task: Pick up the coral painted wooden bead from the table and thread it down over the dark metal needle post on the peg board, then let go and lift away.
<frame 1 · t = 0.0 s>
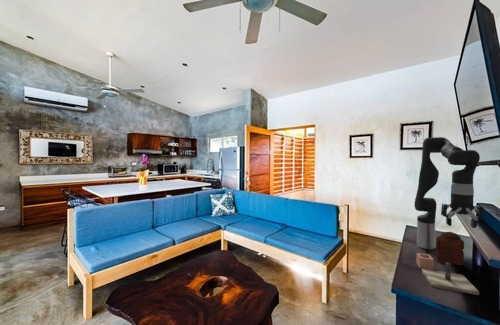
hand: (461, 226, 100), 29 cm above the table, fingers open, 8 cm apart
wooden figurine: (448, 262, 122), on the table
peg board: (447, 282, 105), on the table
bead: (424, 266, 119), on the table
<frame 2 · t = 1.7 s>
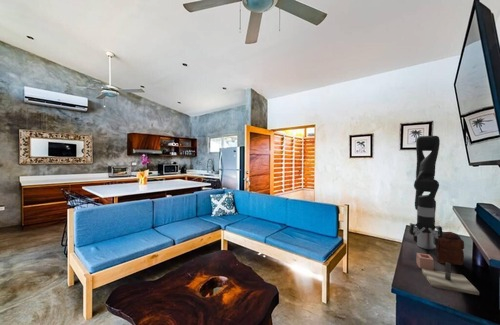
hand: (425, 243, 118), 14 cm above the table, fingers open, 8 cm apart
nothing on the table moved.
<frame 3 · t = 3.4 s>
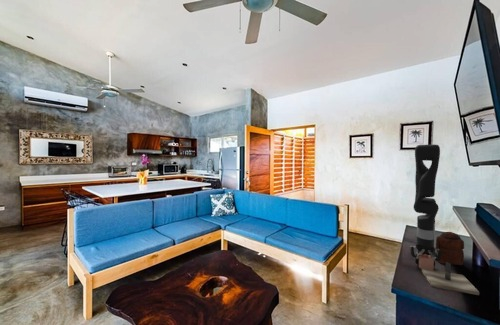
hand: (424, 265, 119), 1 cm above the table, fingers closed on bead, 6 cm apart
bead: (424, 266, 119), on the table, touching gripper
everything else where it was.
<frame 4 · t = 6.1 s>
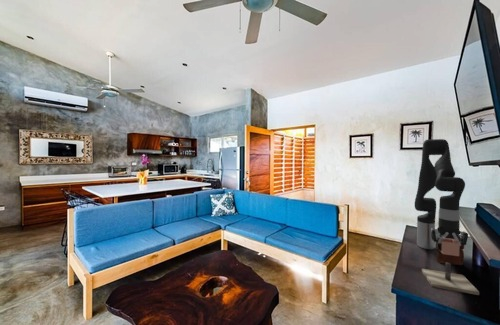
hand: (448, 251, 104), 16 cm above the table, fingers closed on bead, 6 cm apart
bead: (448, 252, 104), point 15 cm above the table, touching gripper
everything else where it was.
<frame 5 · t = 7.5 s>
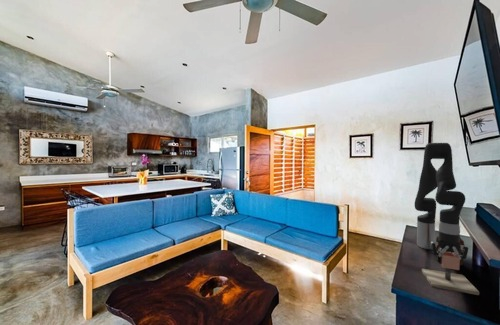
hand: (448, 264, 104), 9 cm above the table, fingers closed on bead, 6 cm apart
bead: (448, 265, 104), point 8 cm above the table, touching gripper
everything else where it was.
when the fingers open (5 cm above the table, at t = 8.8 s): bead drops 3 cm, resting on peg board.
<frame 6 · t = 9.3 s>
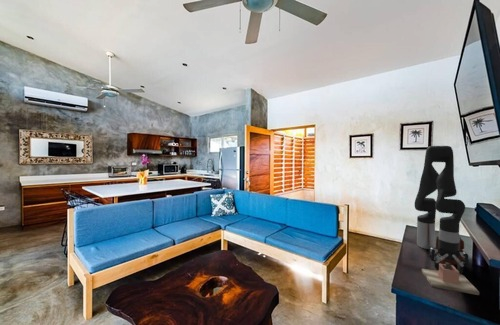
hand: (448, 271, 105), 6 cm above the table, fingers open, 8 cm apart
bead: (447, 279, 105), point 1 cm above the table, touching peg board
everything else where it was.
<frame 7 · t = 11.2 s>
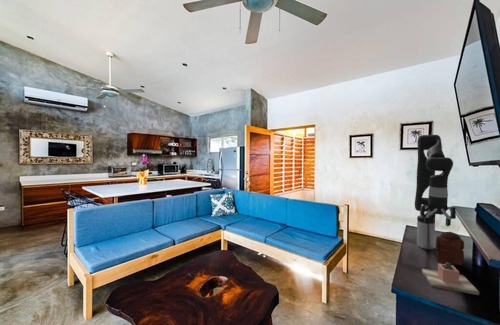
hand: (437, 224, 113), 26 cm above the table, fingers open, 8 cm apart
nothing on the table moved.
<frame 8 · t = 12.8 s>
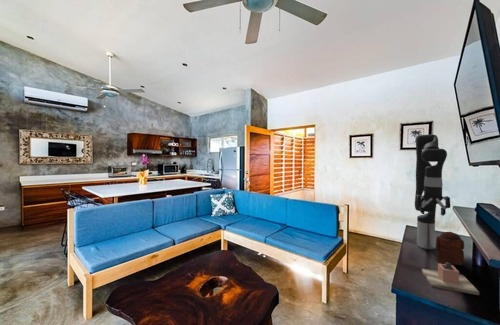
hand: (432, 214, 116), 30 cm above the table, fingers open, 8 cm apart
nothing on the table moved.
at the end: bead 0.0 cm from the peg board (horizontally); bead point 1.5 cm above the table; the gripper is holding nothing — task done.
